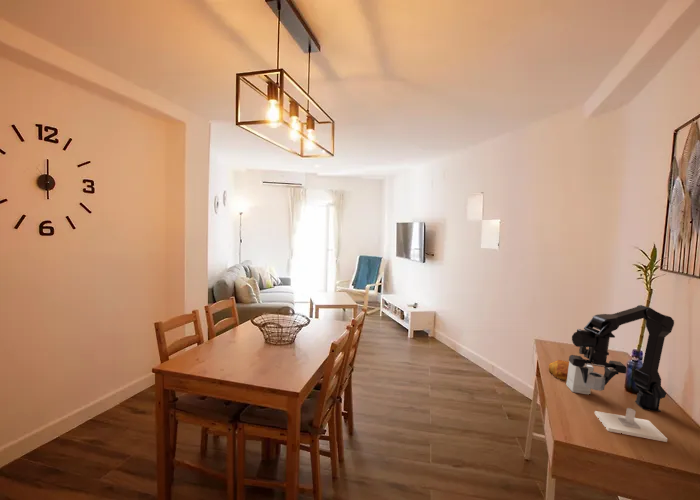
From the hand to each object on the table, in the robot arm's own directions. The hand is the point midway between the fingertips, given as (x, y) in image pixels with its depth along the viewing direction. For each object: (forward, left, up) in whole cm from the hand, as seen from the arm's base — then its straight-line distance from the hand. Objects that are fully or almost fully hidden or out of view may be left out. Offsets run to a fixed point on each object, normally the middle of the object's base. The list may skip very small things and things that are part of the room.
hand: (594, 384), depth 145 cm
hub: (0, 0, -1) cm, 1 cm away
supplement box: (0, -15, -10) cm, 18 cm away
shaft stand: (-8, +12, -10) cm, 17 cm away
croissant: (+1, -29, -10) cm, 31 cm away
